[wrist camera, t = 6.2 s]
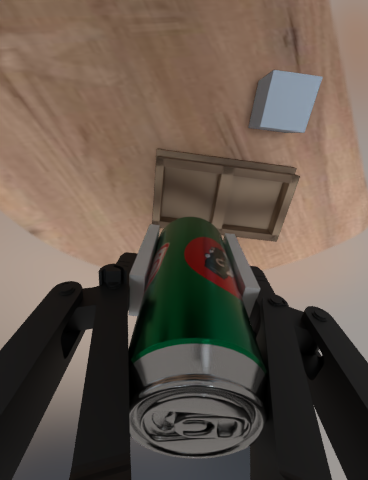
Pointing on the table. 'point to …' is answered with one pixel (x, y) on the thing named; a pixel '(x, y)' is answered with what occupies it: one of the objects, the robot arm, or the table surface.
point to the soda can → (194, 351)
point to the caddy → (223, 193)
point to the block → (284, 101)
